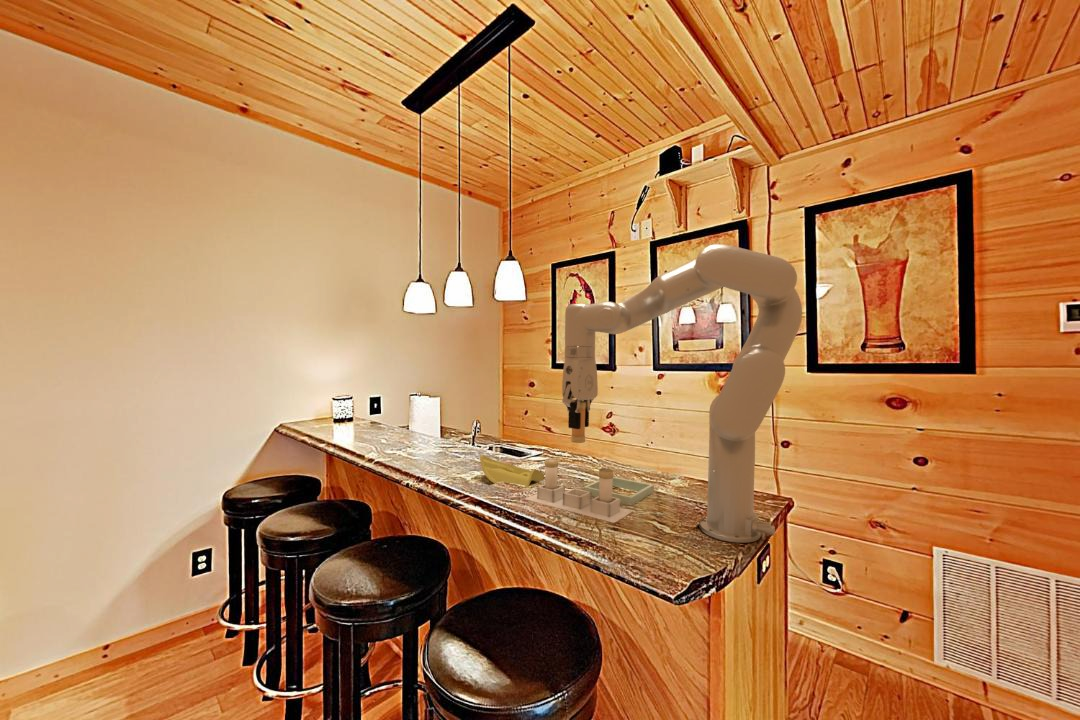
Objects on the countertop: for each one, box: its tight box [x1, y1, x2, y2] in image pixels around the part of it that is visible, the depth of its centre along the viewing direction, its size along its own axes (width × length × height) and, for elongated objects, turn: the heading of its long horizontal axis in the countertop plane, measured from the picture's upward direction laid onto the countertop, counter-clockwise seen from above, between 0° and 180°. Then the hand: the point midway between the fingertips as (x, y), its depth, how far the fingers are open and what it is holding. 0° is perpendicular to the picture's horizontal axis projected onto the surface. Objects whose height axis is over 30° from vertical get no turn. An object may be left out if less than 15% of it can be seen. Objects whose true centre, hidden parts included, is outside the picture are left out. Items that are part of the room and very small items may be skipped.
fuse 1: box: [544, 457, 559, 490], centre depth 121 cm, size 3×3×10 cm
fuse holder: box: [524, 483, 634, 524], centre depth 116 cm, size 10×26×4 cm, turn 53°
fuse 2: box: [598, 468, 614, 503], centre depth 111 cm, size 3×3×10 cm
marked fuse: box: [570, 401, 586, 444], centre depth 116 cm, size 3×3×10 cm
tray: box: [582, 476, 655, 507], centre depth 126 cm, size 14×14×4 cm
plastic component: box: [479, 454, 545, 488], centre depth 140 cm, size 20×7×10 cm
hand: (578, 426), depth 116 cm, fingers closed on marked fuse, 3 cm apart
